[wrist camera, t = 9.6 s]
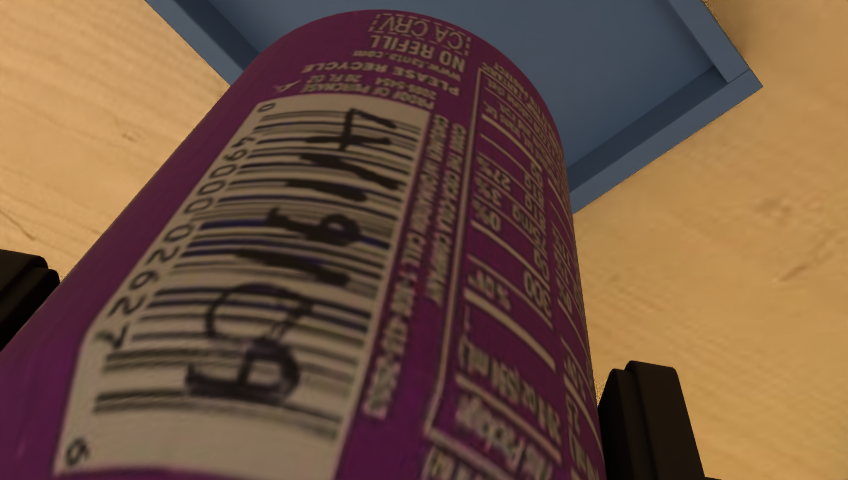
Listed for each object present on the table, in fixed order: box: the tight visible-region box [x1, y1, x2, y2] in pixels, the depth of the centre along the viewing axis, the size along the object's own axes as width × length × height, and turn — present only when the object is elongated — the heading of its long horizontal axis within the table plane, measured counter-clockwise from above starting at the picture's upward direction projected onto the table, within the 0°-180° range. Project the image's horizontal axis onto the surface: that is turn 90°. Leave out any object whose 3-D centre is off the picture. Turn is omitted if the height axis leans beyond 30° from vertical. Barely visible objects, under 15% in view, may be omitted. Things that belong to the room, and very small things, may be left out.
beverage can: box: [0, 9, 607, 480], centre depth 12 cm, size 7×7×12 cm
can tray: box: [145, 0, 763, 215], centre depth 27 cm, size 17×14×3 cm
